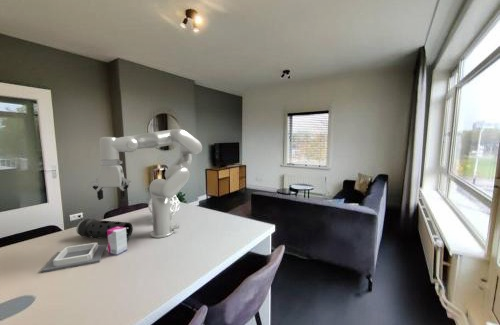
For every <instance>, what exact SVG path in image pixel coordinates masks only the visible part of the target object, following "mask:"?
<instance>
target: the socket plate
mask: <svg viewBox="0 0 500 325" xmlns="http://www.w3.org/2000/svg"><path fill="white" fill-rule="evenodd" d="M107 249H108V243H107V244H102V245H99V244H98V242H92V243H91V242H90V243H83V244H76V245H71V246H67V247H64V248H63V249H62V250H61V251H59V252H58V251H57V253H56V254H54V255H53V257H51V259H49V261H48V262H47V263H46V265H45V266H43V267H42V268H41V270H40V273H41V274H44V273H49V272H55V271H60V270H66V269H71V268H77V267H81V266H87V265H93V264H97V263H98V264H99V263H100V262H101V260H102V258H103V256H104V255H105V253H106V250H107Z"/></svg>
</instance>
